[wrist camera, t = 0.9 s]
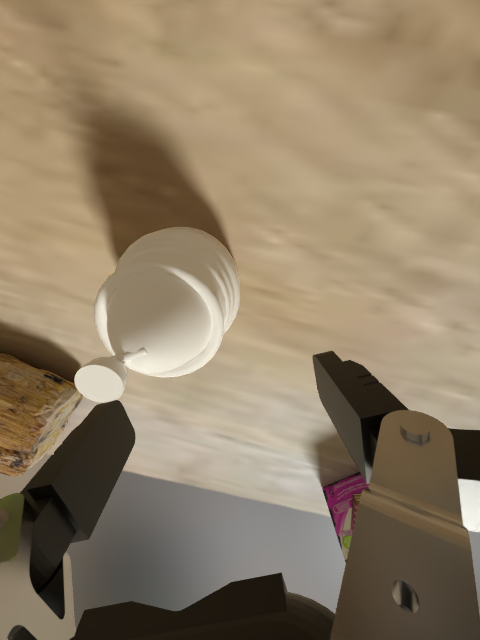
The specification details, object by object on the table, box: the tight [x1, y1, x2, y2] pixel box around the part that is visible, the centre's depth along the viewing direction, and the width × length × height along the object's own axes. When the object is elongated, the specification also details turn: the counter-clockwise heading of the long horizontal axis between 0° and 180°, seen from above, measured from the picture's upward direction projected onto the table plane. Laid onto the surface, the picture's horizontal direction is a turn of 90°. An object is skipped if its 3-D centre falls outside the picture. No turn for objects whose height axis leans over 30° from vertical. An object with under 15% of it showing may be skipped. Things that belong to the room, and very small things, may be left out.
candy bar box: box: [322, 473, 369, 562], centre depth 39 cm, size 11×5×16 cm, turn 124°
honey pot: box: [74, 227, 240, 403], centre depth 21 cm, size 13×13×18 cm
